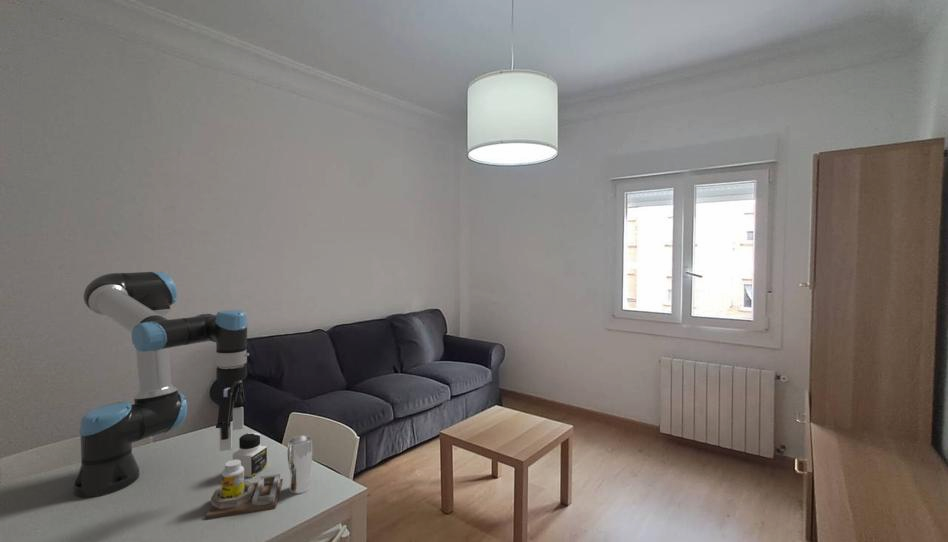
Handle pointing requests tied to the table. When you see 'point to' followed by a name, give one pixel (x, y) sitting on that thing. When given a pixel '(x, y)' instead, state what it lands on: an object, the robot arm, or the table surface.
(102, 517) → the table surface
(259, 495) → the socket board
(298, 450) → the beer glass
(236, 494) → the supplement bottle
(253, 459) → the medicine bottle
